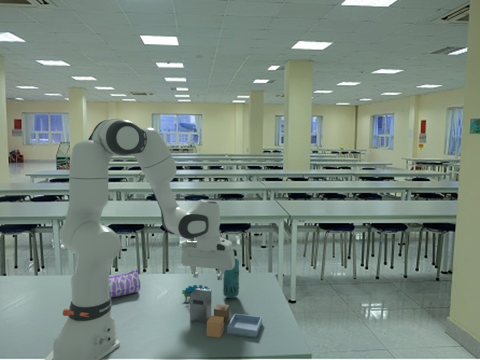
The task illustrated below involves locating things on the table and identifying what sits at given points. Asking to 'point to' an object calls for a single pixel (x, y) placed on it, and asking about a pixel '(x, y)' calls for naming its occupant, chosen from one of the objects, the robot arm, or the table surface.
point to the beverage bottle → (231, 280)
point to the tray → (244, 325)
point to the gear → (191, 290)
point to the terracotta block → (215, 326)
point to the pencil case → (124, 284)
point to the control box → (200, 305)
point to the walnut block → (222, 311)
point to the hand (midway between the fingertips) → (207, 278)
